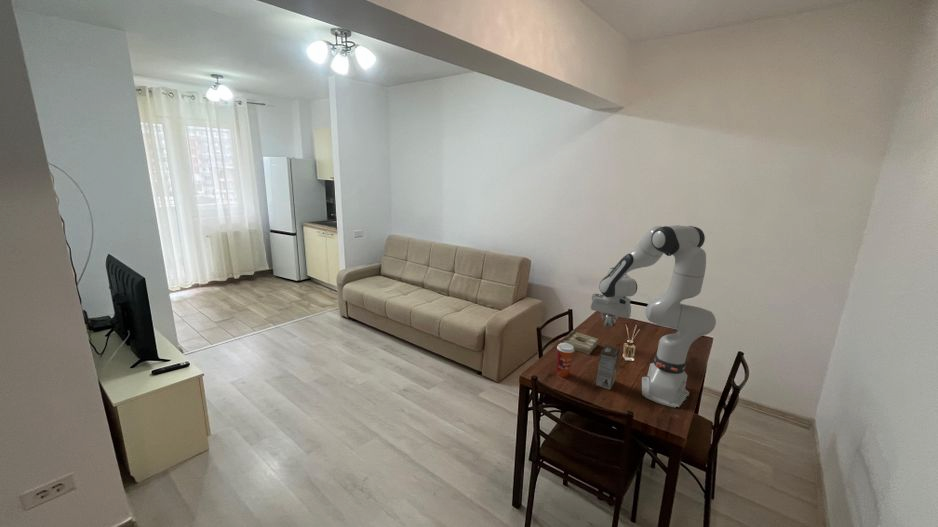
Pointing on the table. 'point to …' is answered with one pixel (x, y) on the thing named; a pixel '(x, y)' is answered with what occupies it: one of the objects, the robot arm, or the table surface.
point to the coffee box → (607, 367)
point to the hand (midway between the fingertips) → (608, 321)
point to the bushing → (608, 320)
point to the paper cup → (564, 359)
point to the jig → (581, 342)
